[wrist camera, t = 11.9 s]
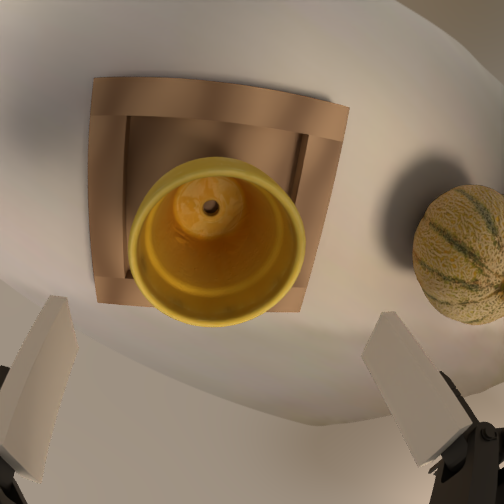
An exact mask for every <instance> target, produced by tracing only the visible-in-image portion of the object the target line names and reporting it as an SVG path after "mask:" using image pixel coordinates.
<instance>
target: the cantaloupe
mask: <svg viewBox="0 0 504 504" xmlns="http://www.w3.org/2000/svg"><path fill="white" fill-rule="evenodd" d="M412 257H413V266H414V271H415V274H416V276H417V280H418V281H419V283H420V285H421V287H422V290H423V292H424V294H425V295H426V297H427V298H428V300H429V302H430V303H431V304H432V305H433V306H434V307H435V309H437V310H438V311H439V312H440V313H441V314H443V315H445V316H446V317H449V318H451V319H454V320H456V321H460V322H462V323H466V324H471V325H481V324H486V323H490V322H492V321H495V320H497V319H498V318H501V317H503V316H504V195H502V194H500V193H498V192H497V191H495V190H493V189H491V188H488V187H485V186H481V185H462V186H458V187H456V188H453V189H452V190H450V191H448V192H446V193H444V194H443V195H440V197H438V198H437V199H436V200H434V201H433V202H432V203H431V204H430V205H429V207H428V208H427V210H426V212H425V215H424V217H423V218H422V219H421V221H420V223H419V225H418V227H417V230H416V232H415V235H414V241H413V252H412Z"/></svg>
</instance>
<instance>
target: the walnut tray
mask: <svg viewBox="0 0 504 504" xmlns="http://www.w3.org/2000/svg"><path fill="white" fill-rule="evenodd" d="M349 108H350V107H346V106H343V105H339V104H335V103H331V102H327V101H323V100H319V99H315V98H310V97H306V96H301V95H297V94H292V93H287V92H282V91H277V90H271V89H265V88H259V87H253V86H246V85H239V84H232V83H224V82H215V81H205V80H194V79H180V78H161V77H100V78H94V82H93V90H92V100H91V111H90V125H89V144H88V207H89V227H90V241H91V253H92V263H93V272H94V280H95V288H96V295H97V302H98V303H107V304H119V305H131V306H144V307H154V306H153V305H152V304H151V303H150V302H149V301H148V300H147V299H146V298H145V297H144V295H143V294H142V293H141V291H140V290H139V288H138V286H137V284H136V283H135V281H134V278H133V276H132V273H131V270H130V265H129V260H128V240H129V234H130V230H131V226H132V223H133V220H134V218H135V215H136V213H137V211H138V209H139V206H140V204H141V203H142V201H143V199H144V198H145V196H146V194H147V193H148V192H149V190H150V189H151V188H152V186H153V185H154V184H155V183H156V182H157V181H158V180H159V179H160V178H161V177H162V176H163V175H165V174H166V173H167V172H169V171H170V170H172V169H173V168H175V167H177V166H179V165H181V164H183V163H186V162H189V161H192V160H195V159H200V158H206V157H226V158H232V159H237V160H241V161H243V162H246V163H248V164H251V165H253V166H255V167H256V168H258V169H260V170H261V171H263V172H264V173H265V174H267V175H268V176H269V177H271V178H272V179H273V180H274V181H275V182H276V183H277V184H278V185H279V186H280V187H281V188H282V189H283V190H284V191H285V192H286V194H287V195H288V196H289V197H290V199H291V200H292V201H293V203H294V204H295V206H296V208H297V210H298V212H299V214H300V216H301V219H302V222H303V226H304V230H305V238H306V247H305V256H304V261H303V264H302V268H301V271H300V273H299V275H298V277H297V279H296V281H295V283H294V284H293V286H292V287H291V289H290V290H289V291H288V293H287V294H286V295H285V296H284V297H283V298H282V299H281V300H280V301H279V302H278V303H277V304H276V305H274V306H273V307H272V308H270V309H269V310H268V311H266V312H300V309H301V305H302V302H303V299H304V295H305V292H306V288H307V285H308V281H309V278H310V274H311V271H312V267H313V263H314V260H315V256H316V252H317V248H318V245H319V241H320V237H321V233H322V229H323V225H324V221H325V217H326V213H327V209H328V205H329V201H330V197H331V193H332V189H333V184H334V180H335V176H336V171H337V167H338V162H339V158H340V153H341V148H342V143H343V139H344V134H345V129H346V124H347V119H348V114H349ZM203 208H204V210H205V212H207V213H210V214H211V213H214V212H216V211H217V209H218V203H217V202H216V201H214V200H211V201H207V202H205V204H204V205H203Z"/></svg>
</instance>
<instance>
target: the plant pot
mask: <svg viewBox="0 0 504 504" xmlns="http://www.w3.org/2000/svg"><path fill="white" fill-rule="evenodd" d="M211 200H214V201H216V202H217V203H218V209H217V211H216V212H214V213H211V214H210V213H207V212H205V210H204V208H203V205H204V204H205V202H207V201H211ZM305 247H306V238H305V230H304V226H303V222H302V219H301V216H300V214H299V212H298V210H297V208H296V206H295V204H294V203H293V201H292V200H291V199H290V197H289V196H288V195H287V194H286V192H285V191H284V190H283V189H282V188H281V187H280V186H279V185H278V184H277V183H276V182H275V181H274V180H273V179H272V178H271V177H269V176H268V175H267V174H265V173H264V172H263V171H261V170H260V169H258V168H256V167H255V166H253V165H251V164H248V163H246V162H243V161H241V160H237V159H232V158H226V157H206V158H200V159H195V160H192V161H189V162H186V163H183V164H181V165H179V166H177V167H175V168H173V169H172V170H170V171H169V172H167V173H166V174H165V175H163V176H162V177H161V178H160V179H159V180H158V181H157V182H156V183H155V184H154V185H153V186H152V188H151V189H150V190H149V192H148V193H147V194H146V196H145V198H144V199H143V201H142V203H141V204H140V206H139V209H138V211H137V213H136V215H135V218H134V220H133V223H132V226H131V230H130V234H129V240H128V260H129V265H130V270H131V273H132V276H133V278H134V281H135V283H136V284H137V286H138V288H139V290H140V291H141V293H142V294H143V295H144V297H145V298H146V299H147V300H148V301H149V302H150V303H151V304H152V305H153V306H154V307H155V308H157V309H158V310H159V311H161V312H162V313H164V314H166V315H167V316H169V317H171V318H173V319H175V320H178V321H181V322H184V323H187V324H191V325H195V326H202V327H224V326H230V325H235V324H239V323H243V322H246V321H248V320H251V319H253V318H255V317H257V316H259V315H261V314H263V313H265V312H266V311H268V310H269V309H270V308H272V307H273V306H274V305H276V304H277V303H278V302H279V301H280V300H281V299H282V298H283V297H284V296H285V295H286V294H287V293H288V291H289V290H290V289H291V287H292V286H293V284H294V283H295V281H296V279H297V277H298V275H299V273H300V271H301V268H302V264H303V261H304V256H305Z"/></svg>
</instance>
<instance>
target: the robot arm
mask: <svg viewBox="0 0 504 504" xmlns="http://www.w3.org/2000/svg"><path fill="white" fill-rule="evenodd" d="M78 350H79V346H78V343H77V339H76V335H75V331H74V327H73V323H72V319H71V315H70V310H69V306H68V301H67V297H60V296H53V295H50V297H49V298H48V300H47V302H46V303H45V305H44V307H43V308H42V310H41V312H40V313H39V315H38V317H37V319H36V320H35V322H34V324H33V326H32V327H31V329H30V331H29V333H28V335H27V337H26V338H25V340H24V342H23V344H22V346H21V348H20V350H19V352H18V354H17V356H16V358H15V360H14V362H13V364H12V366H11V368H9V367H5V366H2V365H1V366H0V504H27V502H26V500H25V498H24V496H23V494H22V492H21V490H20V488H19V486H18V484H17V482H16V481H15V479H14V478H13V476H14V472H15V471H16V472H17V473H18V474H19V475H20V476H21V477H22V478H25V479H28V480H31V481H34V482H37V483H40V484H41V482H42V477H43V472H44V467H45V463H46V458H47V453H48V449H49V445H50V441H51V436H52V433H53V429H54V425H55V421H56V418H57V414H58V411H59V407H60V404H61V401H62V397H63V394H64V391H65V388H66V385H67V381H68V378H69V375H70V373H71V369H72V366H73V364H74V361H75V357H76V355H77V352H78ZM361 357H362V359H363V361H364V363H365V364H366V366H367V368H368V370H369V372H370V374H371V376H372V377H373V379H374V381H375V383H376V385H377V387H378V389H379V391H380V393H381V394H382V396H383V398H384V400H385V402H386V404H387V406H388V408H389V410H390V412H391V414H392V416H393V418H394V420H395V421H396V424H397V426H398V428H399V429H400V431H401V433H402V436H403V438H404V439H405V442H406V444H407V446H408V447H409V450H410V452H411V454H412V456H413V458H414V460H415V462H416V464H417V466H418V467H421V466H424V465H426V464H428V463H431V462H432V461H433V460H435V459H436V458H437V457H438V456H439V455H440V454H441V456H442V459H441V460H440V461H439V462H438V463H437V464H435V465H434V466H433V467H432V468H431V469H430V470H429V472H428V473H432V472H433V471H434V470H436V469H437V468H438V470H437V471H436V472H435V473H434V475H436V479H435V483H434V487H433V491H432V495H431V499H430V503H429V504H504V467H503V468H502V469H500V468H499V464H500V463H502V462H503V461H504V428H495V427H494V426H493V425H492V424H490V423H488V422H481V423H480V422H479V421H478V420H477V418H476V417H475V415H474V414H473V412H472V410H471V409H470V407H469V406H468V404H467V403H466V402H465V400H464V398H463V397H462V396H461V394H460V392H459V391H458V389H456V386H455V385H454V384H453V382H452V381H451V379H450V378H449V377H448V376H447V375H445V374H444V373H443V372H442V371H438V370H437V368H436V367H435V365H434V364H433V363H432V361H431V360H430V358H429V357H428V355H427V354H426V353H425V351H424V350H423V349H422V347H421V346H420V344H419V343H418V342H417V340H416V339H415V338H414V336H413V335H412V334H411V332H410V331H409V330H408V328H407V327H406V326H405V324H404V323H403V322H402V320H401V319H400V318H399V316H398V315H397V314H396V312H382V313H381V315H380V318H379V320H378V322H377V324H376V326H375V328H374V331H373V333H372V335H371V337H370V339H369V341H368V343H367V345H366V347H365V349H364V351H363V353H362V355H361Z"/></svg>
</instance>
